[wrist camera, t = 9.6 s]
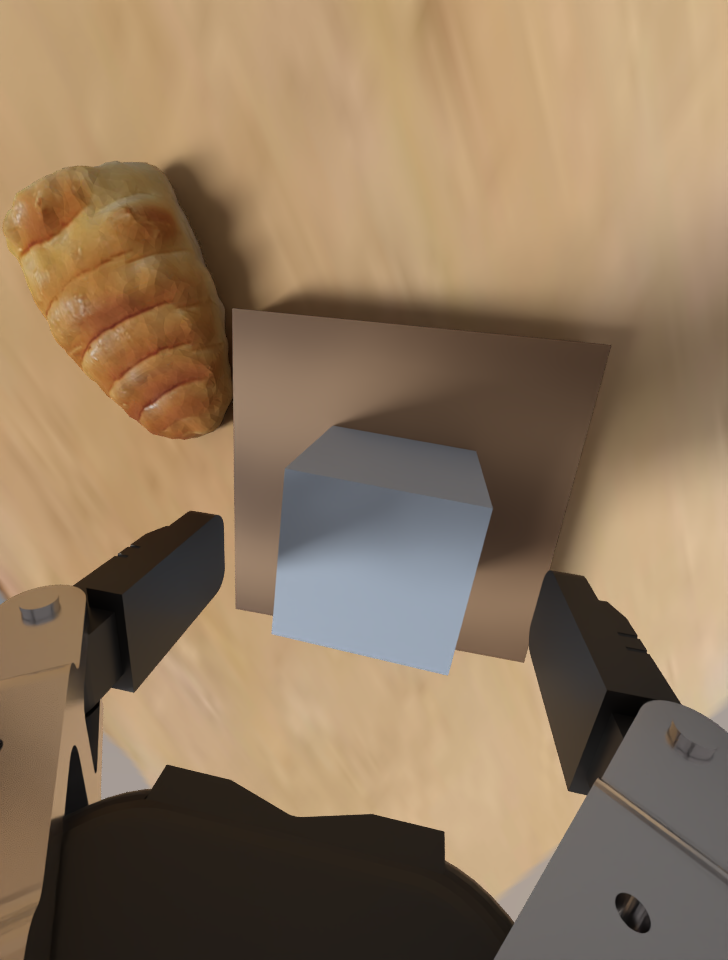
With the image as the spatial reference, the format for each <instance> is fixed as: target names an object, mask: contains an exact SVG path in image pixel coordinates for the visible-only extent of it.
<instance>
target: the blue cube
mask: <svg viewBox="0 0 728 960" xmlns="http://www.w3.org/2000/svg"><path fill="white" fill-rule="evenodd" d="M492 510H493V507H492V504H491V500H490V497H489V493H488V490H487V487H486V483H485V480H484V476H483V473H482V470H481V466H480V463H479V459H478V456H477V452H476V451H473V450H467V449H461V448H456V447H450V446H445V445H439V444H433V443H428V442H422V441H417V440H411V439H405V438H400V437H394V436H389V435H383V434H377V433H372V432H366V431H361V430H355V429H349V428H344V427H338V426H332V427H331V428H329V429H328V430H327V431H326V432H325V433H324V434H323V435H322V436H321V437H319V438H318V439H317V440H316V441H315V442H314V443H313V444H312V445H311V446H309V447H308V448H307V449H306V450H305V451H304V452H303V453H302V454H300V455H299V456H298V457H297V458H296V459H295V460H294V461H293V462H292V463H290V464H289V465H288V466H287V467H286V468H285V473H284V485H283V498H282V510H281V523H280V536H279V548H278V561H277V573H276V586H275V599H274V611H273V624H272V634H274V635H278V636H282V637H287V638H291V639H295V640H299V641H304V642H308V643H312V644H316V645H321V646H325V647H329V648H333V649H337V650H342V651H346V652H350V653H354V654H359V655H363V656H367V657H371V658H376V659H380V660H384V661H388V662H393V663H397V664H401V665H405V666H410V667H414V668H418V669H422V670H427V671H431V672H435V673H439V674H443V675H448V674H449V670H450V666H451V662H452V659H453V655H454V651H455V648H456V644H457V640H458V636H459V633H460V629H461V625H462V622H463V618H464V614H465V610H466V607H467V603H468V599H469V595H470V592H471V588H472V584H473V581H474V577H475V573H476V569H477V566H478V562H479V558H480V555H481V551H482V547H483V543H484V540H485V536H486V532H487V529H488V525H489V521H490V517H491V514H492Z"/></svg>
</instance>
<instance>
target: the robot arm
mask: <svg viewBox="0 0 728 960" xmlns="http://www.w3.org/2000/svg"><path fill="white" fill-rule="evenodd" d="M224 571H225V561H224V523H223V519H222V517H221V516H219V515H214V514H208V513H202V512H196V511H189V512H187V513H186V514H185V515H183V516H182V517H181V518H179V519H178V520H176V521H175V522H174V523H172V524H171V525H170V526H165V527H163V528H160V529H157V530H155V531H152V532H150V533H147V534H145V535H144V536H142V537H141V538H139V539H138V540H137V541H135V542H134V543H132V544H131V546H130V547H127V548H125V549H124V550H123V551H121V552H120V553H118V556H114V557H113V558H111V559H110V560H109V561H107V562H106V563H104V564H103V565H101V566H100V567H99V568H97V569H96V570H94V571H93V572H92V573H90V574H89V575H87V576H86V577H85V578H83V579H82V580H80V581H79V582H78V583H76V584H75V585H73V586H70V585H49V586H43V587H38V588H35V589H31V590H28V591H25V592H22V593H20V594H18V595H15V596H14V597H12V598H10V599H8V600H7V601H5V602H4V603H2V604H1V605H0V960H728V733H727V732H726V731H725V730H724V729H723V728H721V727H720V726H719V725H718V724H716V723H715V722H713V721H712V720H711V719H709V718H707V717H706V716H704V715H703V714H701V713H699V712H697V711H695V710H693V709H691V708H689V707H686V706H684V705H682V704H681V703H680V701H679V700H678V698H677V697H676V695H675V694H674V692H673V690H672V689H671V687H670V686H669V684H668V683H667V681H666V679H665V678H664V676H663V675H662V673H661V672H660V670H659V668H658V667H657V665H656V664H655V662H654V661H653V659H652V658H651V656H650V654H647V650H646V648H645V647H644V645H643V643H642V642H641V640H640V639H637V634H636V632H635V631H634V629H633V628H632V626H631V625H630V623H629V621H628V620H627V618H626V617H624V616H623V615H622V614H621V613H620V612H619V611H617V610H616V609H615V608H614V607H613V606H612V605H610V604H609V603H608V602H606V601H600V600H598V598H597V597H596V595H595V593H594V591H593V590H592V588H591V586H590V585H589V583H588V581H587V579H586V578H585V577H584V576H581V575H575V574H569V573H563V572H557V571H551V570H550V571H548V572H547V573H546V574H545V576H544V579H543V582H542V586H541V589H540V593H539V597H538V600H537V604H536V607H535V611H534V614H533V618H532V621H531V625H530V631H529V650H530V655H531V658H532V662H533V666H534V669H535V673H536V677H537V680H538V684H539V687H540V691H541V695H542V698H543V702H544V705H545V709H546V713H547V716H548V720H549V724H550V727H551V731H552V734H553V738H554V742H555V745H556V749H557V753H558V756H559V760H560V763H561V767H562V771H563V774H564V778H565V781H566V785H567V789H568V791H570V792H575V793H579V794H584V795H587V796H586V798H585V800H584V802H583V804H582V805H581V807H580V809H579V811H578V812H577V814H576V816H575V818H574V819H573V821H572V823H571V825H570V826H569V828H568V830H567V832H566V833H565V835H564V837H563V839H562V840H561V842H560V844H559V846H558V847H557V849H556V851H555V853H554V854H553V856H552V858H551V860H550V862H549V863H548V865H547V867H546V869H545V870H544V872H543V874H542V876H541V878H540V879H539V881H538V883H537V885H536V886H535V888H534V890H533V891H532V893H531V895H530V897H529V899H528V900H527V902H526V904H525V906H524V907H523V909H522V911H521V913H520V914H519V916H518V918H517V920H516V921H515V923H514V922H513V920H512V919H511V918H510V916H509V915H508V914H507V913H506V912H505V911H504V910H503V908H502V907H501V906H500V905H499V904H498V903H497V902H496V901H495V900H494V898H493V897H492V896H491V895H490V894H489V893H488V892H486V891H485V890H484V889H483V888H482V887H481V886H480V885H479V884H478V883H477V882H476V881H474V880H473V879H472V878H470V877H469V876H468V875H466V874H465V873H464V872H462V871H461V870H460V869H458V868H457V867H455V866H454V865H452V864H450V863H448V862H447V861H445V837H444V831H440V830H436V829H431V828H427V827H423V826H419V825H415V824H411V823H407V822H402V821H398V820H394V819H390V818H386V817H382V816H378V815H374V814H364V815H341V816H318V817H295V816H291V815H289V814H287V813H285V812H284V811H282V810H280V809H279V808H277V807H275V806H274V805H272V804H270V803H269V802H267V801H265V800H264V799H262V798H260V797H259V796H257V795H255V794H254V793H252V792H250V791H248V790H247V789H245V788H243V787H242V786H240V785H238V784H237V783H235V782H233V781H232V780H229V779H224V778H220V777H216V776H212V775H208V774H204V773H200V772H195V771H191V770H187V769H183V768H179V767H175V766H171V765H166V767H165V768H164V770H163V772H162V773H161V775H160V776H159V778H158V780H157V781H156V783H155V785H154V786H153V788H152V789H144V790H138V791H132V792H126V793H122V794H119V795H116V796H112V797H108V798H106V799H103V800H101V768H102V738H103V702H102V697H103V696H104V695H105V694H106V693H107V692H108V691H109V689H110V688H115V689H120V690H124V691H129V692H133V693H134V692H135V691H136V690H137V689H138V687H139V686H140V685H141V684H142V683H143V681H144V680H145V679H146V678H147V677H148V675H149V674H150V673H151V672H152V671H153V669H154V668H155V667H156V666H157V665H158V663H159V662H160V661H161V660H162V659H163V657H164V656H165V655H166V654H167V653H168V651H169V650H170V649H171V648H172V646H173V645H174V644H175V643H176V642H177V640H178V639H179V638H180V637H181V636H182V634H183V633H184V632H185V631H186V630H187V628H188V627H189V626H190V625H191V624H192V622H193V621H194V620H195V619H196V618H197V616H198V615H199V614H200V613H201V612H202V610H203V609H204V608H205V607H206V606H207V604H208V603H209V602H210V601H211V600H212V598H213V597H214V596H215V595H216V593H217V592H218V590H219V589H220V587H221V584H222V581H223V577H224Z"/></svg>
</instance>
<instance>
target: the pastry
mask: <svg viewBox="0 0 728 960" xmlns="http://www.w3.org/2000/svg"><path fill="white" fill-rule="evenodd" d="M2 228H3V233H4V235H5V236H6V242H7V247H8V249H9V251H10V252H11V253H12V254H13V255H14V256H15V257H16V258H17V259H18V261H19V263H20V265H21V268H22V270H23V273H24V276H25V279H26V282H27V285H28V287H29V289H30V291H31V293H32V296H33V299H34V301H35V303H36V305H37V307H38V308H39V309H40V311H41V312H42V314H43V315H44V317H45V318H46V319H47V320H48V323H49V326H50V330H51V332H52V335H53V336H54V338H55V340H56V342H57V343H58V344H59V345H60V346H61V347H62V348H64V349H65V351H66V353H67V354H68V355H69V356H70V357H71V358H72V359H73V360H74V361H75V362H76V363H77V364H78V366H79V367H80V368H81V369H82V370H83V372H84V373H85V374H86V375H87V376H88V377H89V378H90V379H91V380H93V381H95V382H96V383H97V384H98V385H99V386H100V388H101V389H102V390H103V391H104V392H105V394H106V395H107V396H108V397H110V398H112V399H113V400H114V401H115V402H116V403H117V404H118V405H119V406H121V407H122V408H123V409H124V410H125V412H126V413H127V414H128V415H129V416H130V417H131V418H133V419H135V420H137V421H138V422H139V423H140V424H141V425H142V426H144V427H145V428H146V429H147V430H148V431H149V432H150V433H152V434H155V435H159V436H164V437H168V438H171V439H184V440H185V439H190V438H196V437H200V436H202V435H205V434H207V433H210V432H212V431H214V430H215V429H216V428H218V427H219V426H220V424H221V422H222V420H223V417H224V414H225V412H226V410H227V408H228V406H229V404H230V402H231V399H232V397H233V385H232V380H231V368H230V365H229V362H228V341H227V338H226V334H225V307H224V305H223V303H222V302H221V300H220V299H219V297H218V295H217V291H216V287H215V285H214V282H213V279H212V276H211V274H210V273H209V271H208V270H207V268H206V265H205V262H204V259H203V256H202V252H201V249H200V246H199V244H198V242H197V240H196V238H195V235H194V232H193V231H192V229H191V227H190V225H189V223H188V220H187V218H186V215H185V214H184V212H183V210H182V209H181V207H180V206H179V204H178V201H177V197H176V195H175V193H174V191H173V188H172V186H171V184H170V182H169V180H168V179H167V177H166V175H165V174H164V173H163V172H161V171H160V170H159V169H158V168H157V167H155V166H153V165H150V164H148V163H143V162H123V163H122V162H119V161H113V162H107V163H104V164H102V165H100V166H97V167H89V166H74V167H67V168H62V170H59V171H56V172H55V173H53V174H51V175H47V176H45V177H43V178H41V179H40V180H38V181H36V182H34V183H32V184H31V185H30V186H28V187H26V188H24V189H23V190H21V191H19V192H18V193H16V196H15V198H14V201H13V206H12V209H11V210H9V211H8V212H7V214H6V216H5V219H4V221H3V227H2Z"/></svg>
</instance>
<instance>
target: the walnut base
mask: <svg viewBox="0 0 728 960" xmlns="http://www.w3.org/2000/svg"><path fill="white" fill-rule="evenodd" d="M232 334H233V420H234V506H235V591H236V609H240V610H245V611H251V612H256V613H261V614H267V615H272V616H273V611H274V599H275V586H276V573H277V561H278V548H279V536H280V523H281V510H282V498H283V485H284V473H285V468H286V467H287V466H288V465H289V464H290V463H292V462H293V461H294V460H295V459H296V458H297V457H298V456H299V455H300V454H302V453H303V452H304V451H305V450H306V449H307V448H308V447H309V446H311V445H312V444H313V443H314V442H315V441H316V440H317V439H318V438H319V437H321V436H322V435H323V434H324V433H325V432H326V431H327V430H328V429H329V428H331V427H332V426H338V427H344V428H349V429H355V430H361V431H366V432H372V433H377V434H383V435H389V436H394V437H400V438H405V439H411V440H417V441H422V442H428V443H433V444H439V445H445V446H450V447H456V448H461V449H467V450H473V451H476V452H477V456H478V459H479V463H480V466H481V470H482V473H483V476H484V480H485V483H486V487H487V490H488V493H489V497H490V500H491V504H492V507H493V510H492V514H491V517H490V521H489V525H488V529H487V532H486V536H485V540H484V543H483V547H482V551H481V555H480V558H479V562H478V566H477V569H476V573H475V577H474V581H473V584H472V588H471V592H470V595H469V599H468V603H467V607H466V610H465V614H464V618H463V622H462V625H461V629H460V633H459V636H458V640H457V644H456V648H455V650H459V651H464V652H470V653H475V654H480V655H486V656H491V657H496V658H502V659H507V660H512V661H518V662H523V663H524V661H525V657H526V653H527V650H528V646H529V631H530V625H531V621H532V618H533V614H534V611H535V607H536V604H537V600H538V597H539V593H540V589H541V586H542V582H543V579H544V576H545V574H546V573H547V572H548V571H549V570H550V566H551V563H552V559H553V555H554V552H555V548H556V544H557V541H558V537H559V533H560V530H561V526H562V523H563V519H564V515H565V512H566V508H567V504H568V501H569V497H570V494H571V490H572V486H573V483H574V479H575V475H576V472H577V468H578V464H579V461H580V457H581V454H582V450H583V446H584V443H585V439H586V435H587V432H588V428H589V425H590V421H591V417H592V414H593V410H594V406H595V403H596V399H597V395H598V392H599V388H600V385H601V381H602V377H603V374H604V370H605V366H606V363H607V359H608V355H609V352H610V348H611V345H605V344H595V343H585V342H574V341H564V340H554V339H543V338H533V337H523V336H513V335H502V334H492V333H482V332H472V331H461V330H451V329H441V328H430V327H420V326H410V325H400V324H389V323H379V322H369V321H358V320H348V319H338V318H328V317H317V316H307V315H297V314H286V313H276V312H266V311H256V310H245V309H235V308H232Z"/></svg>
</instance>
